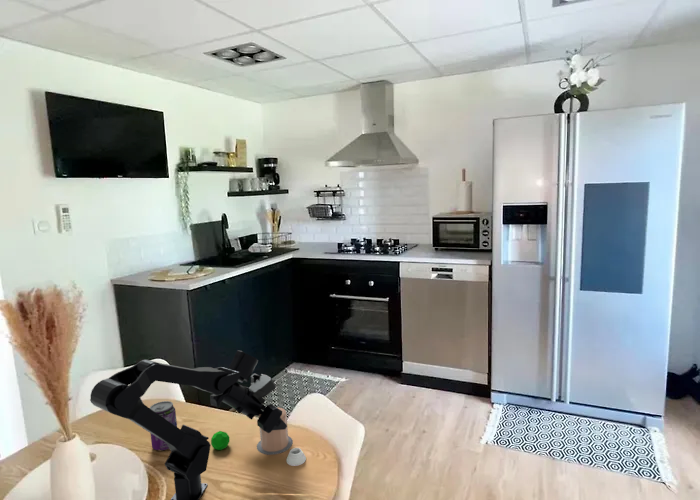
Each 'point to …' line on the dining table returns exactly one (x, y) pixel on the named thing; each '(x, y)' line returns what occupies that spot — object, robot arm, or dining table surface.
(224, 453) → the dining table surface
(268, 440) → the cover cup
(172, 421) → the beverage can
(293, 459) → the white tapered ring
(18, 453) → the dining table surface
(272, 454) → the rubber mat
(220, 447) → the polyhedron
